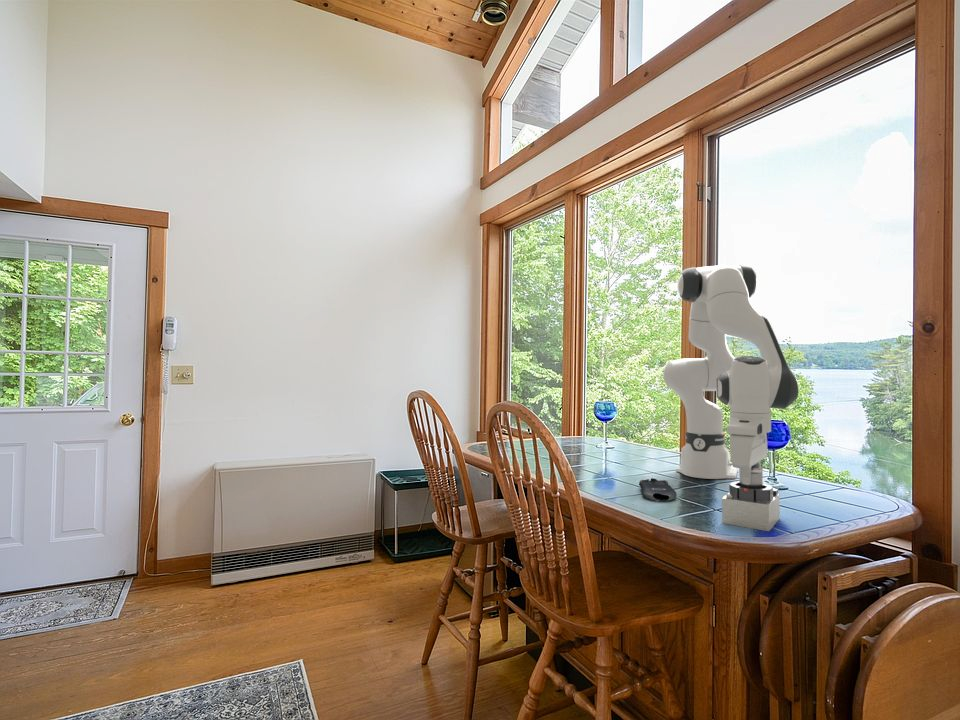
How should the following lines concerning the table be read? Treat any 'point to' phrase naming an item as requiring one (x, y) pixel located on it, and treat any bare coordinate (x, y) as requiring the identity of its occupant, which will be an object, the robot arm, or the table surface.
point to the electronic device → (657, 489)
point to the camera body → (751, 507)
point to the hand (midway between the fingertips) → (750, 481)
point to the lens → (753, 478)
